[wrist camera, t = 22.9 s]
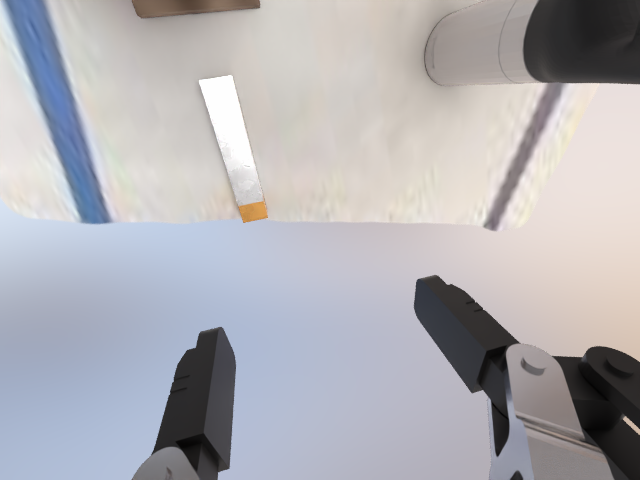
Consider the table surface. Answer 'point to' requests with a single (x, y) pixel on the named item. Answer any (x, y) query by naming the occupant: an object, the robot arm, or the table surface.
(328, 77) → the table surface
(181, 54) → the table surface
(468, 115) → the table surface
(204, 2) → the tall stand
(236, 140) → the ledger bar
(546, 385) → the robot arm
